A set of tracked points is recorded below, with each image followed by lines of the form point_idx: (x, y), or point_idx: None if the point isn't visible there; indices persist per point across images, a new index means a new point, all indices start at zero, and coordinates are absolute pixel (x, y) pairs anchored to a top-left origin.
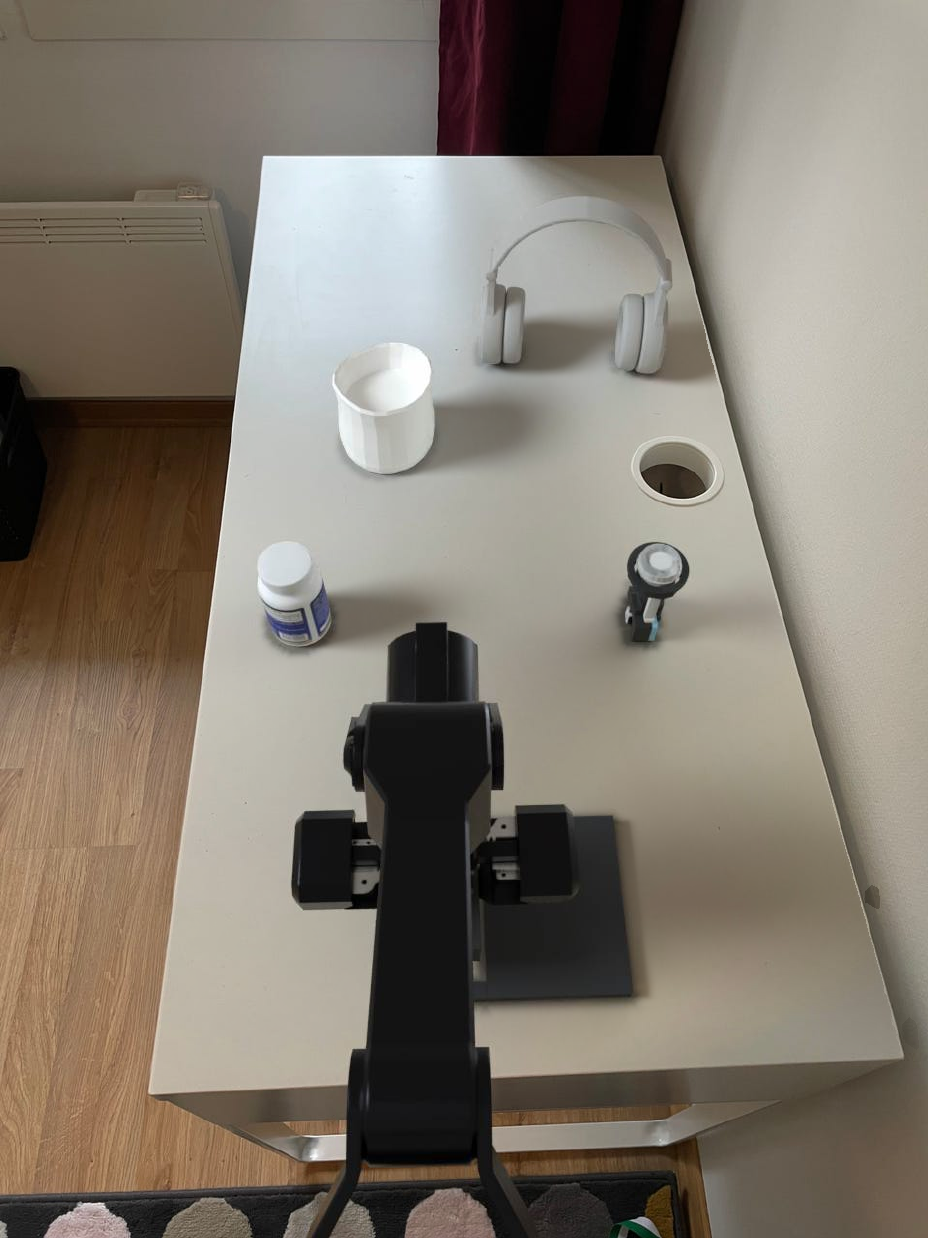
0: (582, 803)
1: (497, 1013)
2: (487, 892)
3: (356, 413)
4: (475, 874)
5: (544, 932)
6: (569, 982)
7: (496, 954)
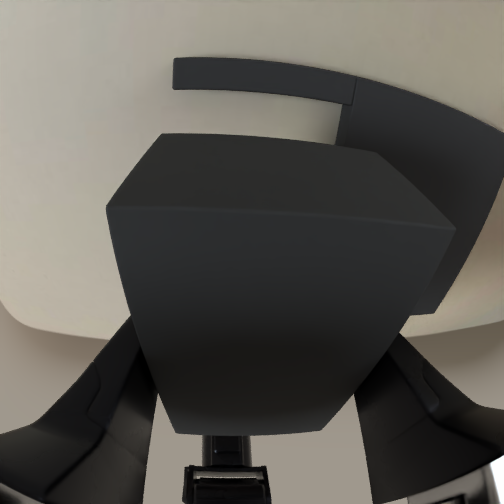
0: (487, 97)
1: None
2: (377, 465)
3: None
4: (365, 372)
5: None
6: None
7: None
